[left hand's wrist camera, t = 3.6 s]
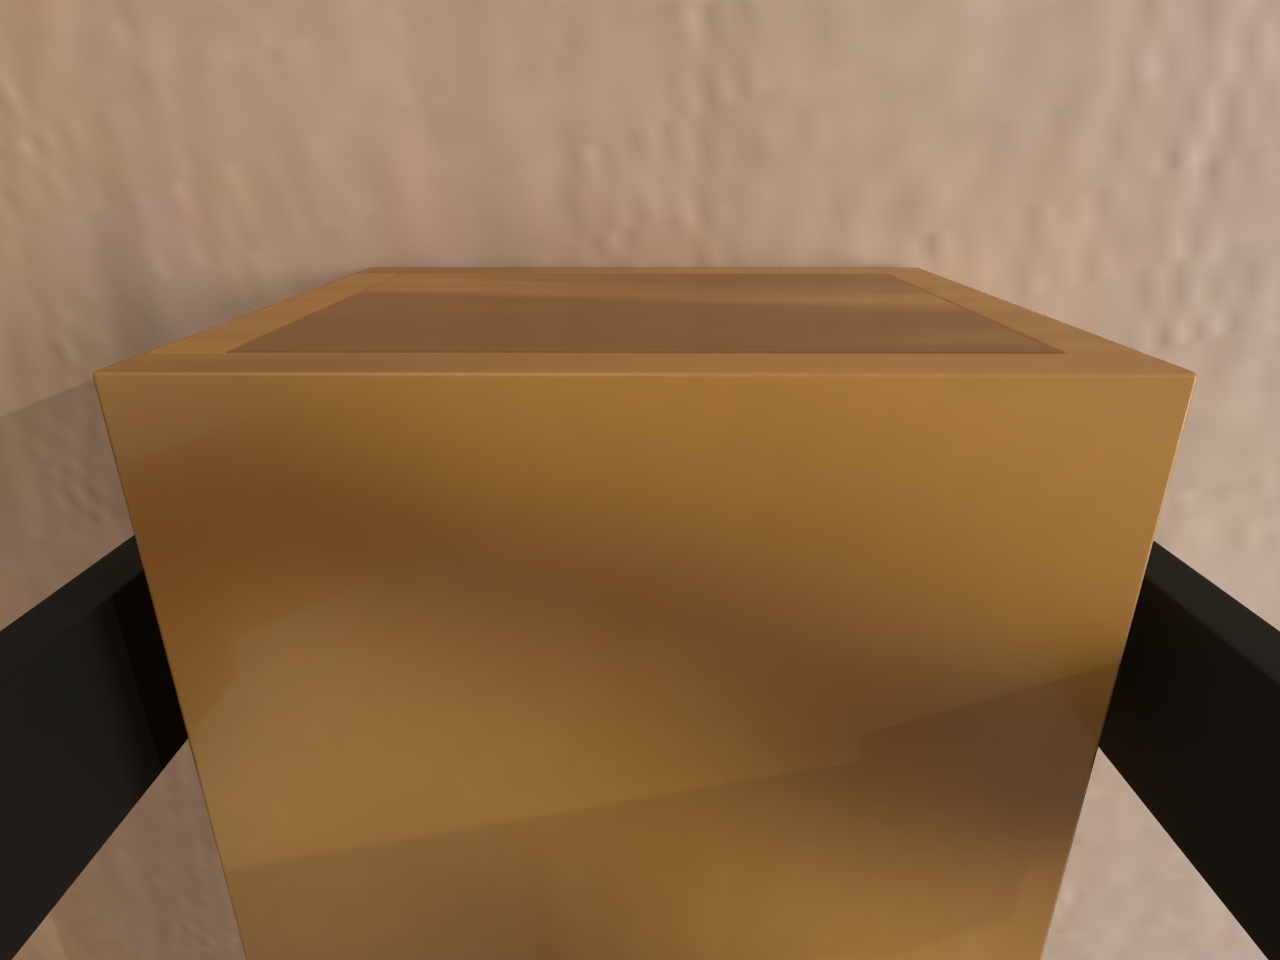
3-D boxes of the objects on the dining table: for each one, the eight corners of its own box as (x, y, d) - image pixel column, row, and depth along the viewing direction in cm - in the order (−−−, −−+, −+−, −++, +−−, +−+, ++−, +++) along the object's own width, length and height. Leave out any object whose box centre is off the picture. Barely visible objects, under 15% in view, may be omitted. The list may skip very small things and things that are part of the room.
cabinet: (823, 1014, 24) (913, 1438, 16) (461, 1012, 24) (370, 1435, 16) (919, 267, 16) (1200, 373, 8) (369, 266, 16) (88, 370, 8)
